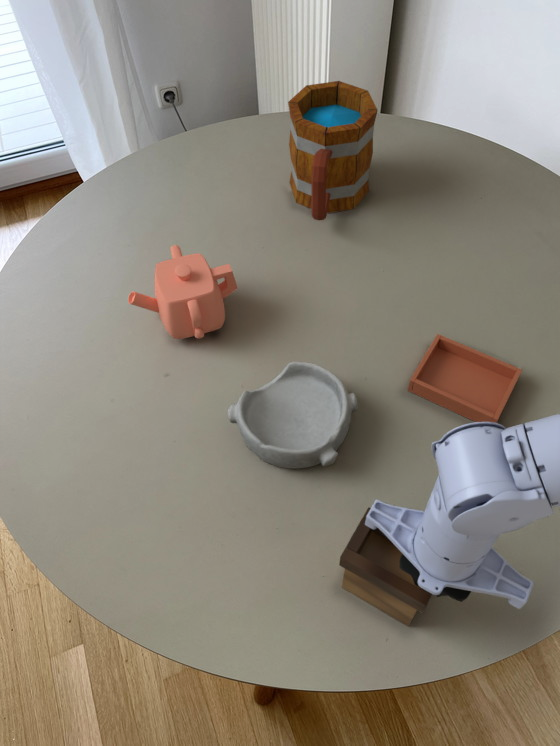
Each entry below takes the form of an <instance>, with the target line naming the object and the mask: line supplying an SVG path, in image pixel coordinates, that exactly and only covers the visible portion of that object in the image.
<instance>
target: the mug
mask: <svg viewBox="0 0 560 746" xmlns="http://www.w3.org/2000/svg"><path fill="white" fill-rule="evenodd" d="M287 104H288V111H289V124H290V125H289V126H290V127H289V129H290V131H289V142H288V146H289V147H288V148H289V156H290V175H289V176H290V177H289V185H290V189H291V191H292V195H293V198H294V201H295V203H296V204H298V205H301V206H303V207H305V208H308V209H310V210H311V212H310V213H311V218H313V220H316V221H324V220H325V219H326V218H327V216H328V214H330V213H336V212H337V213H338V212H342V211H349V210H354V209H355V208H356V207H357V206H358V205H359V204H360V202H361V201H362V200H363V199H364V198H365V197H366V195H367V194H368V193H369V192H370V182H369V180H370V178H369V177H370V170H371V164H372V159H373V154H374V131H375V130H374V129H375V122H376V118H377V114H378V108H377V105H376V104H375V101H374V99H373V98H372V95H371V94H370V91H369V90H367V89H364V88H362V87H358V86H356V85H352V84H349V83H346V82H344V81H341V80H336V81H328V82H321V83H314V84H307V85H305V86H304V87H303V88H302V89H300V90H299V92H297V93H296V94H295V95H294V96H293V97H292V98H290V100H289V101H287Z"/></svg>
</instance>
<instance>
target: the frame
mask: <svg viewBox="0 0 560 746" xmlns="http://www.w3.org/2000/svg"><path fill="white" fill-rule="evenodd" d="M370 509H371V507H367V508H366V511H365V512H364V514H363V516H362V518H361V519H360V521H359V523H358V524H357V526H356V528H355V530H354V531H353V533H352V535H351V537H350V539H349V541H348V542H347V545H345V548H344V550H343V551H342V553H341V555H340V557H339V562H338V566H339V567H341V568H343V569H344V570H345V569H347V570H348V571H350V572H352V573H354V574H355V575H357V576H359V577H361V578H362V579H364V580H366V581H367V582H369V583H371V584H373V585H374V586H376V587H378V588H380V589H381V590H383V591H385V592H387V593H388V594H390V595H392V596H394V597H395V598H397V599H399V600H401V601H402V602H404V603H406V604H408V605H409V606H411V607H413V608H414V609H416V610H417V612H420V613H421V614H423V613H424V612H425V610H426V608H427V606H428V604H429V602H430V601H431V598H432V596H433V594H431V593H430V592H428V591H426V590H424V589H422V588H421V587H420V588H418V587H416V586H415V585H413V584H411V583H409V582H407V581H406V580H404V579H402V578H400V577H399V576H397V575H395V574H393V573H391V572H390V571H388V570H386V569H384V568H383V567H381V566H379V565H377V564H375V563H374V562H372V561H370V560H368V559H367V558H365V557H363V556H361V555H359V554H360V552H361V550H362V548H363V546H364V544H365V543H366V541H367V539H368V537H369V535H370V534H371V532H374V533H376V534H378V535H380V536H382V537H383V538H385V539H387V540H389V538H388V537H387V536H386V535H385V534H384V533H383V532H382V531H381V530H380V529H379V528H376V529H371V528H369V527H368V526H366V525H365V521H366V516H367V514H368V513H369V511H370ZM389 541H390V540H389Z"/></svg>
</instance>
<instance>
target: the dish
mask: <svg viewBox="0 0 560 746" xmlns="http://www.w3.org/2000/svg"><path fill="white" fill-rule="evenodd" d="M357 410H358V400H357V396H356V394H355V393H354V392H350V393H349V392H348V391H347V389H346V387H345V385H344V384H343V382H342V381H341V379H339V378H338V376H336V374H334V373H333V372H331V371H330V370H328V369H327V368H325V367H323V366H321V365H318V364H315V363H311V362H305V361H303V362H302V361H290V362H289V363H288V364H287V365H285V367H284V368H283V370H282V371H281V372H280V373H279V374H278V375H276V376H275V378H273V379H272V380H270V381H268V383H266V384H264V385H262V386H260V387H259V388H256V389H252V390H244V391H242V393H241V395H240V396H239V398H238V401H237V402H236V403H231V404H230V405H229V407H228V408H227V418H228V420H229V423H231V424H236V425H237V427H238V430H239V433H240V435H241V437H242V439H243V442H244V443H245V445H246V446H247V448H248V449H249V450H250V451H251V452H252V454H254V455H255V456H256V457H257V458H258V459H260V460H262V461H263V462H265V463H267V464H270V465H272V466H275V467H279V468H282V469H283V468H285V469H305V468H311V467H314V466H318V465H319V464H321V465H322V466H323V467H327V466H330V465H333V464H334V463H335V462H336V459H337V457H338V455H339V453H338V451H337V450H338V449H339V448H340V446H342V444H343V442H344V440H345V439H346V436H347V434H348V431H349V429H350V425H351V419H352V413H353V412H356V411H357Z"/></svg>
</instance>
